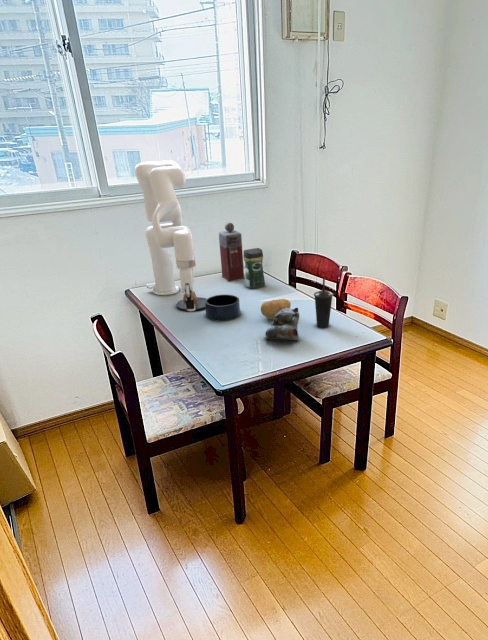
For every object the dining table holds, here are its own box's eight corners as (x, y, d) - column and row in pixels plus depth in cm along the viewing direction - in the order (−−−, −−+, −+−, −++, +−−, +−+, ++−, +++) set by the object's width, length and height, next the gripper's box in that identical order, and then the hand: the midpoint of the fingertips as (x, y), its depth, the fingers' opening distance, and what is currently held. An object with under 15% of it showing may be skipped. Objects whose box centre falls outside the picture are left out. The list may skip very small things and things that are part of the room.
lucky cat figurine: (257, 338, 194) (263, 303, 193) (282, 343, 201) (288, 309, 200) (279, 340, 182) (285, 302, 181) (304, 345, 189) (310, 308, 188)
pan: (206, 322, 210) (204, 307, 207) (206, 309, 223) (205, 295, 219) (240, 319, 212) (239, 305, 208) (239, 307, 224) (238, 293, 221)
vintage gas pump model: (230, 282, 255) (226, 226, 241) (222, 276, 264) (217, 222, 249) (246, 279, 259) (242, 224, 244) (237, 274, 267) (233, 220, 253)
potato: (296, 317, 212) (296, 299, 208) (268, 325, 206) (267, 307, 202) (283, 311, 219) (283, 293, 215) (256, 318, 213) (255, 300, 209)
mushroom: (183, 312, 206) (181, 294, 202) (184, 307, 211) (182, 289, 207) (198, 311, 206) (196, 293, 202) (198, 306, 211) (196, 288, 207)
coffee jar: (260, 282, 254) (258, 245, 245) (267, 286, 248) (265, 249, 239) (243, 285, 251) (240, 248, 241) (249, 289, 244) (247, 252, 235)
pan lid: (175, 312, 220) (173, 299, 217) (177, 300, 234) (175, 288, 230) (210, 310, 222) (209, 297, 219) (210, 298, 235) (209, 286, 232)
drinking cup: (334, 323, 206) (335, 276, 196) (329, 330, 200) (330, 282, 190) (316, 321, 208) (317, 274, 198) (311, 328, 202) (311, 280, 192)
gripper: (177, 257, 205) (182, 298, 215) (174, 270, 190) (180, 314, 200) (195, 256, 206) (200, 297, 215) (194, 269, 191) (199, 313, 201)
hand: (190, 305), depth 208 cm, fingers closed on mushroom, 6 cm apart
